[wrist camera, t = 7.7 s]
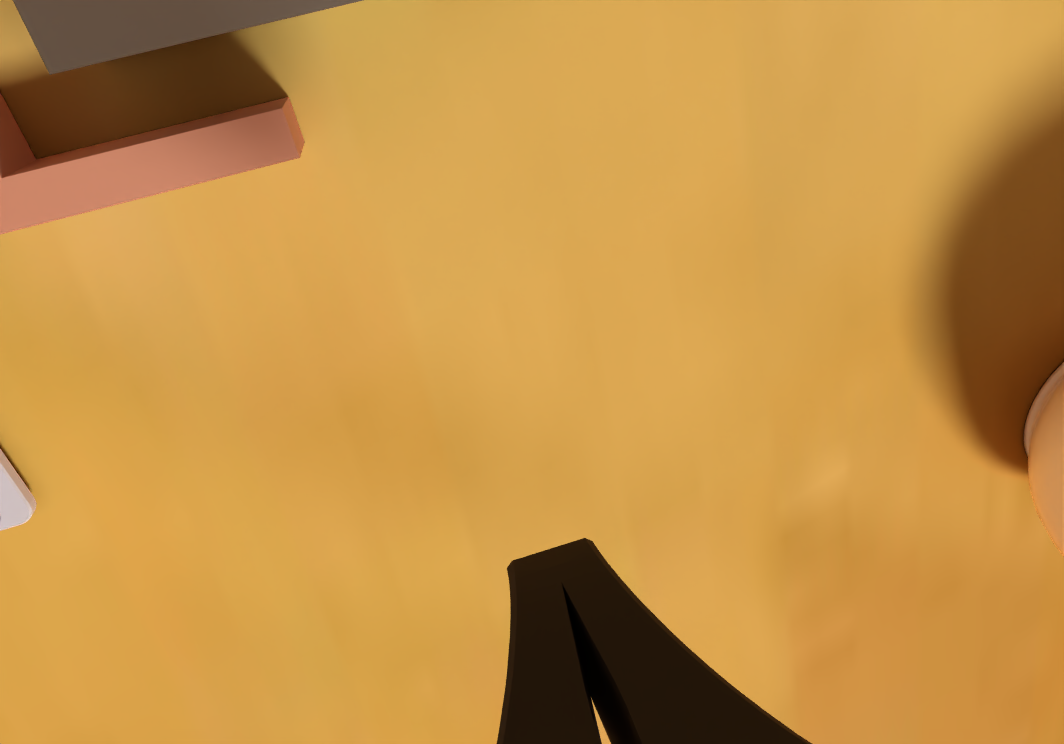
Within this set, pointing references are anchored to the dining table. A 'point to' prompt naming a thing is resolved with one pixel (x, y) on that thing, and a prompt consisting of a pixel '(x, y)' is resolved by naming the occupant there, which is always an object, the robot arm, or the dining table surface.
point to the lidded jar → (1048, 455)
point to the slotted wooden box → (142, 24)
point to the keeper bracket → (138, 162)
